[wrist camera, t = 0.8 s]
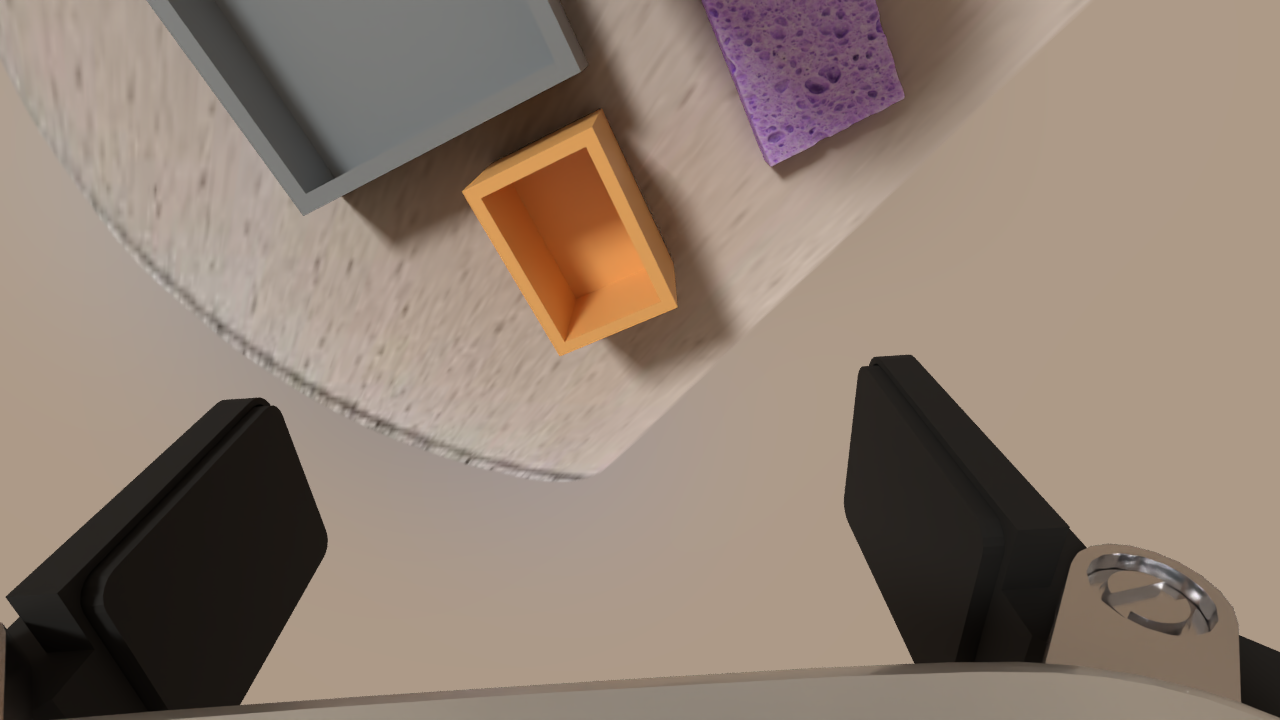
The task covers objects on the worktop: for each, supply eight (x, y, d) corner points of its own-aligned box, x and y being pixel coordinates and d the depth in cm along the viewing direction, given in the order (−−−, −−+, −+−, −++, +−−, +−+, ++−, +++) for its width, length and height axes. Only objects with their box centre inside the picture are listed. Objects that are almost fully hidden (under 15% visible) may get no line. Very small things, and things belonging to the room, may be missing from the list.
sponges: (763, 160, 33) (769, 168, 32) (656, -101, 28) (657, -108, 26) (895, 95, 31) (908, 99, 30) (808, -196, 26) (818, -210, 25)
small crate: (601, 107, 31) (592, 126, 26) (673, 263, 35) (677, 307, 30) (491, 163, 33) (461, 191, 28) (572, 307, 37) (559, 356, 31)
